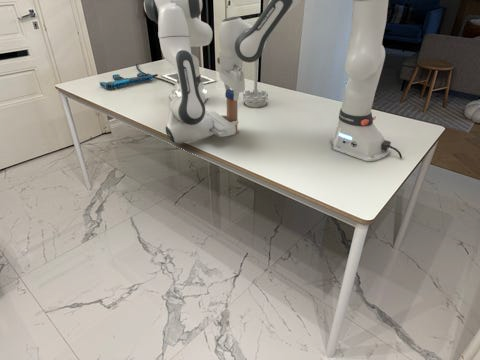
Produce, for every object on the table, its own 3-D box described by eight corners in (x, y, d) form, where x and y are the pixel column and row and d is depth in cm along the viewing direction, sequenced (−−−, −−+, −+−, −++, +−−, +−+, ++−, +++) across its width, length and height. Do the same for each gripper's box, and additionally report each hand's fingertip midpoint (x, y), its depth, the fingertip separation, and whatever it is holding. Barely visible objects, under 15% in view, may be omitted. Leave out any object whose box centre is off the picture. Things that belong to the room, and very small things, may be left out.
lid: (237, 98, 138) (237, 94, 137) (224, 98, 138) (224, 93, 137) (238, 94, 142) (238, 90, 141) (226, 94, 143) (226, 89, 141)
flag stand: (261, 97, 185) (263, 39, 169) (271, 105, 175) (275, 44, 158) (239, 100, 181) (239, 41, 165) (248, 109, 171) (249, 46, 154)
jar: (225, 132, 148) (224, 94, 139) (231, 129, 152) (230, 91, 142) (233, 135, 146) (233, 96, 137) (239, 131, 149) (239, 93, 140)
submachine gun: (143, 67, 226) (161, 73, 210) (144, 73, 228) (162, 79, 212) (92, 77, 208) (107, 85, 191) (93, 83, 210) (109, 91, 193)
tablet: (161, 76, 220) (161, 75, 220) (187, 70, 231) (187, 69, 231) (189, 87, 200) (189, 87, 199) (216, 81, 211) (216, 80, 210)
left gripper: (216, 128, 131) (246, 120, 137) (194, 111, 146) (222, 105, 152) (217, 142, 135) (246, 135, 140) (195, 124, 149) (223, 118, 155)
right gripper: (249, 68, 126) (248, 103, 133) (229, 56, 142) (230, 88, 149) (233, 70, 124) (233, 106, 131) (215, 57, 140) (216, 90, 147)
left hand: (234, 119), depth 146 cm, fingers closed on jar, 4 cm apart
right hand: (231, 96), depth 140 cm, fingers open, 7 cm apart
